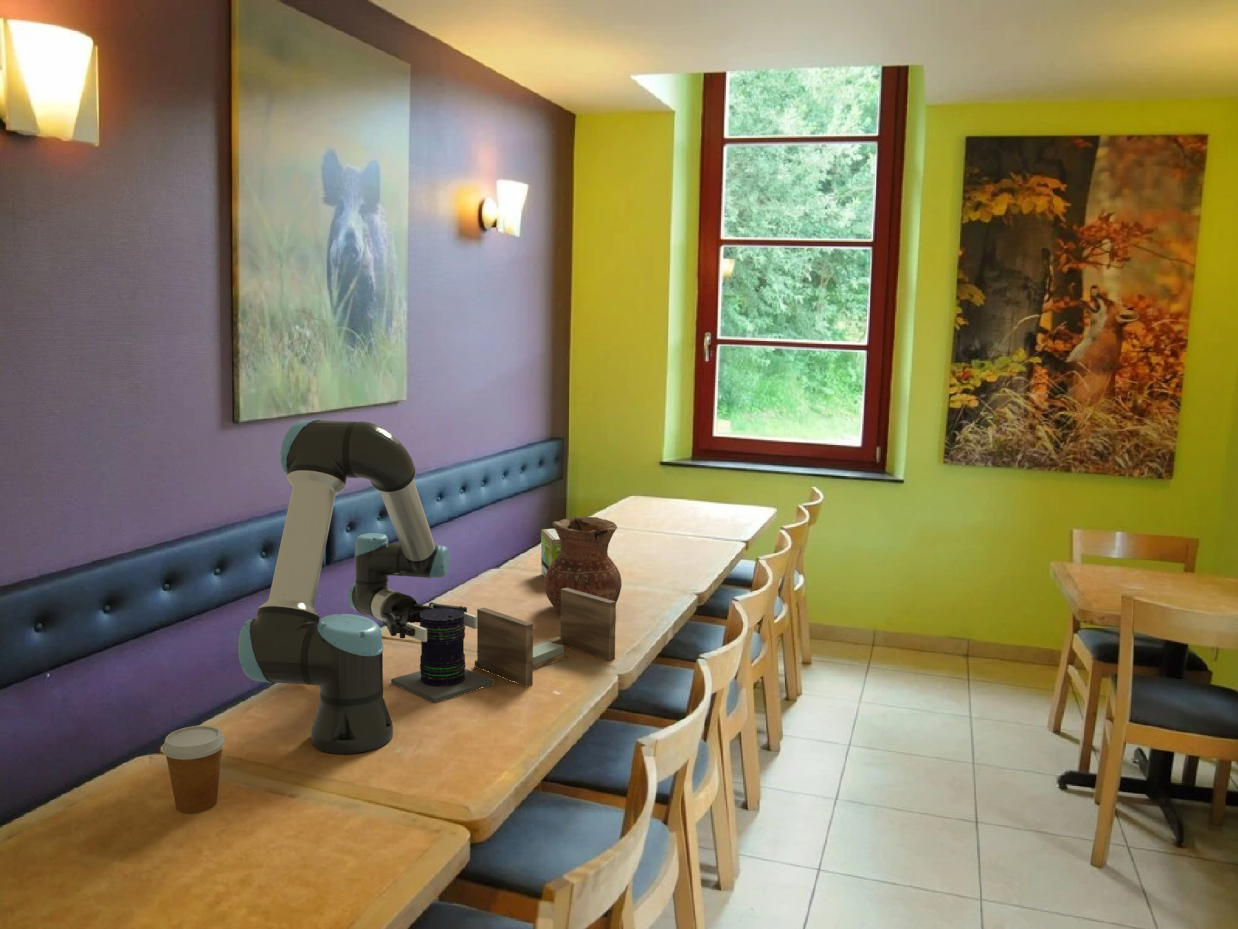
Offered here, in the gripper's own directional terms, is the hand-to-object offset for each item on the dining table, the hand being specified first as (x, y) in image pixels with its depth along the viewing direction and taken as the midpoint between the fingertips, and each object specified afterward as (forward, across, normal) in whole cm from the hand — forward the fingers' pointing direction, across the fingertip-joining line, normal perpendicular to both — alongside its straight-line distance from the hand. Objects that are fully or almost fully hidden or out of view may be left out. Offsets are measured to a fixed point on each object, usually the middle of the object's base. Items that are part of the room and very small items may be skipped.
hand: (451, 629), depth 224 cm
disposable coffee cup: (+15, +63, -14) cm, 66 cm away
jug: (-23, -62, -14) cm, 68 cm away
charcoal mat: (-3, 0, -13) cm, 14 cm away
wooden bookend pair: (+2, -26, -13) cm, 29 cm away
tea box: (-52, -81, -14) cm, 97 cm away
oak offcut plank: (0, -26, -14) cm, 29 cm away
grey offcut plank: (0, -26, -12) cm, 29 cm away
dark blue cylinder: (-3, 0, -12) cm, 13 cm away
